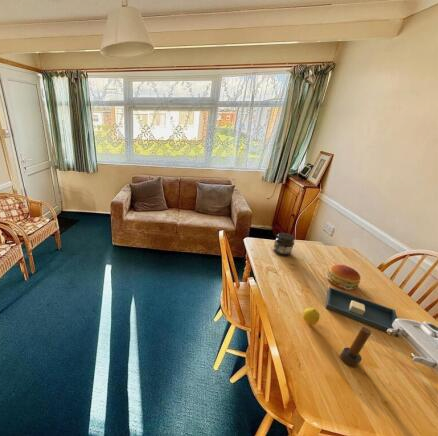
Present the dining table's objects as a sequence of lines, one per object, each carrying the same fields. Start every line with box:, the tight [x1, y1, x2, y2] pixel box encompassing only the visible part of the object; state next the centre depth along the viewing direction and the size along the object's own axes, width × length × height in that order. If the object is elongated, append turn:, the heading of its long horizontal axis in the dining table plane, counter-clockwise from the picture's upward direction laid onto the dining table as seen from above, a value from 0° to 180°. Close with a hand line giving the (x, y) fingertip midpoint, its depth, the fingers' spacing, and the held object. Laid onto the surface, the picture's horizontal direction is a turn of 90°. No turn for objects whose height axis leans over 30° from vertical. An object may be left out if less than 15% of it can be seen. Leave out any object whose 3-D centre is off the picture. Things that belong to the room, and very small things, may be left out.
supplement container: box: [272, 232, 296, 257], centre depth 145 cm, size 10×10×12 cm
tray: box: [325, 286, 400, 338], centre depth 103 cm, size 24×15×3 cm, turn 51°
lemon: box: [302, 307, 320, 325], centre depth 97 cm, size 6×6×8 cm
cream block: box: [349, 300, 365, 316], centre depth 103 cm, size 4×4×3 cm
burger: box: [325, 264, 361, 291], centre depth 119 cm, size 13×14×10 cm
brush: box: [339, 326, 372, 368], centre depth 80 cm, size 5×5×16 cm
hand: (399, 343), depth 77 cm, fingers open, 8 cm apart
